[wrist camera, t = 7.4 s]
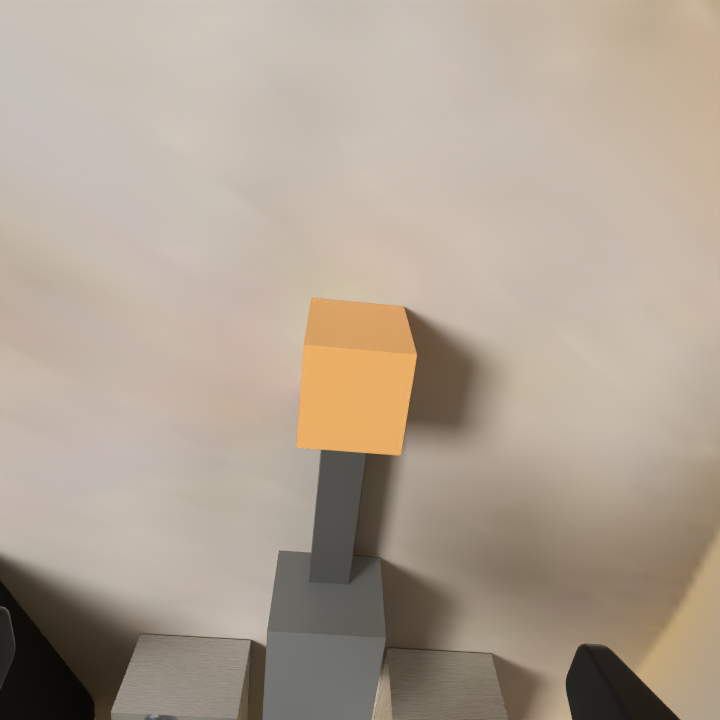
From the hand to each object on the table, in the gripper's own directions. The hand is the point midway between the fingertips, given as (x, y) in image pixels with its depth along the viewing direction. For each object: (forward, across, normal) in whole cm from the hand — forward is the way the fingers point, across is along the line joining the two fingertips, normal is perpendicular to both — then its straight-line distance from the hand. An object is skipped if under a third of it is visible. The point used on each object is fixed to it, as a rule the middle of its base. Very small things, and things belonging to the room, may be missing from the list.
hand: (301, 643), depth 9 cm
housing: (+10, -1, +16) cm, 19 cm away
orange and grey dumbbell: (+10, -1, +6) cm, 11 cm away
